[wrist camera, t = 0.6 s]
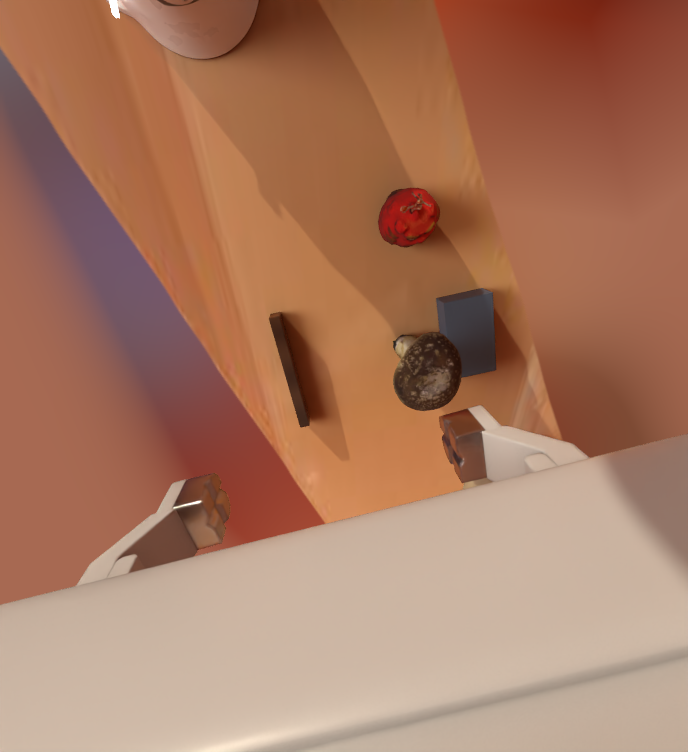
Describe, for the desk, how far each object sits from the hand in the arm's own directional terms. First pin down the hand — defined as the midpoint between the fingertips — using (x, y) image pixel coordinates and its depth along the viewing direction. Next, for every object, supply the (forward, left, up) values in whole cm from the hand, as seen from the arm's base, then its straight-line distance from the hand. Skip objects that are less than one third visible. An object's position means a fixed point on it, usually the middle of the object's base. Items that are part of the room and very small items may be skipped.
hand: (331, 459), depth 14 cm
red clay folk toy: (-5, +13, -44) cm, 46 cm away
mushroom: (+13, +11, -44) cm, 47 cm away
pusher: (+13, +20, -44) cm, 50 cm away
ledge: (+13, -7, -44) cm, 46 cm away
